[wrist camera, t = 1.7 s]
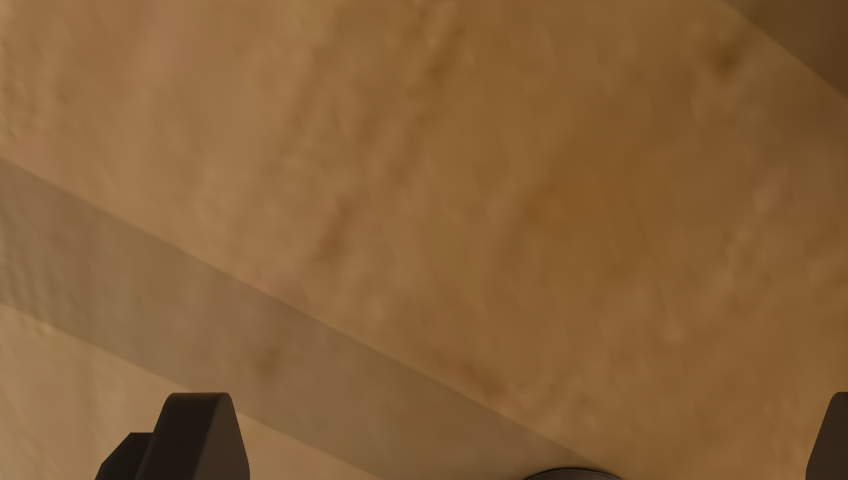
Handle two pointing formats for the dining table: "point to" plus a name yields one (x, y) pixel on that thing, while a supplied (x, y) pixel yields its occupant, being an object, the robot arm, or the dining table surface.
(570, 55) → the dining table surface
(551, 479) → the pillar candle
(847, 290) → the dining table surface
